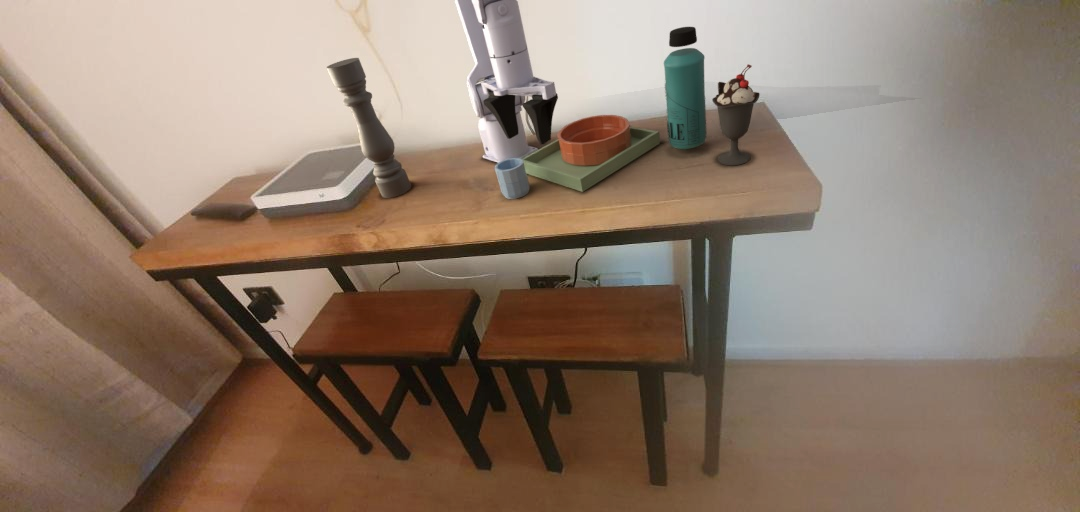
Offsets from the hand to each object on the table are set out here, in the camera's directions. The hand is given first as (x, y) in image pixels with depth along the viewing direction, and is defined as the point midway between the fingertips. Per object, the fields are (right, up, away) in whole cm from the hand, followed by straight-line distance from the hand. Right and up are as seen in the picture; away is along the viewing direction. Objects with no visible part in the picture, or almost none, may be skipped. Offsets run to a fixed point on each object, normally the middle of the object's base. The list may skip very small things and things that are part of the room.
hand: (528, 139), depth 78 cm
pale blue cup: (-2, -8, +7) cm, 11 cm away
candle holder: (-27, -6, +19) cm, 34 cm away
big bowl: (+13, 0, +13) cm, 18 cm away
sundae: (+34, -3, 0) cm, 34 cm away
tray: (+11, -1, +12) cm, 16 cm away
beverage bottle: (+28, 0, +7) cm, 29 cm away
